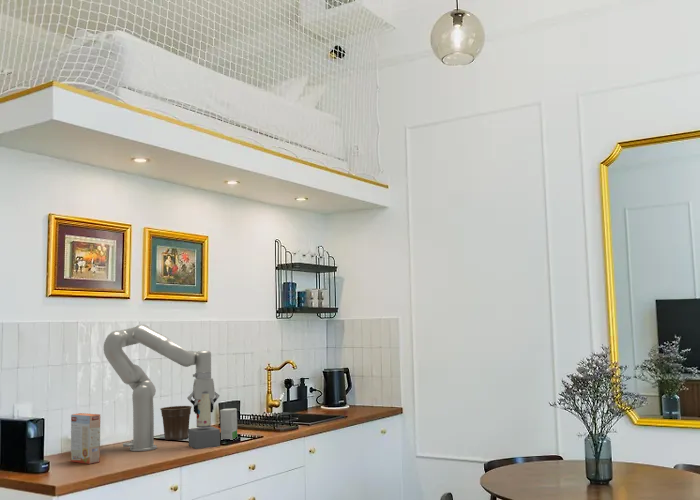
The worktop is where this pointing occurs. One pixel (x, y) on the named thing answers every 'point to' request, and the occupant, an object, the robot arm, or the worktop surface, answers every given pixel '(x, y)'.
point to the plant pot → (176, 422)
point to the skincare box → (228, 423)
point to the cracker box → (85, 438)
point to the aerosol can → (204, 411)
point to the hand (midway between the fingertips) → (203, 412)
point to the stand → (204, 437)
